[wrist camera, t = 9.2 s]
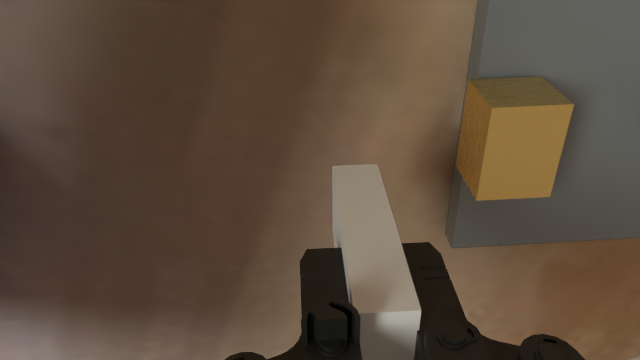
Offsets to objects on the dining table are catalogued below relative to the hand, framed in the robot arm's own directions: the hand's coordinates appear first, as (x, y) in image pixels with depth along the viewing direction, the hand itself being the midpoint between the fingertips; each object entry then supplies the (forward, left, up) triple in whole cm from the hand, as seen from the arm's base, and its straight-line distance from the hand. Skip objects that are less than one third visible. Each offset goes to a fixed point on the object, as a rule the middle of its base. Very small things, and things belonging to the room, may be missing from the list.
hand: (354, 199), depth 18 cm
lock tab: (+7, 0, -5) cm, 8 cm away
